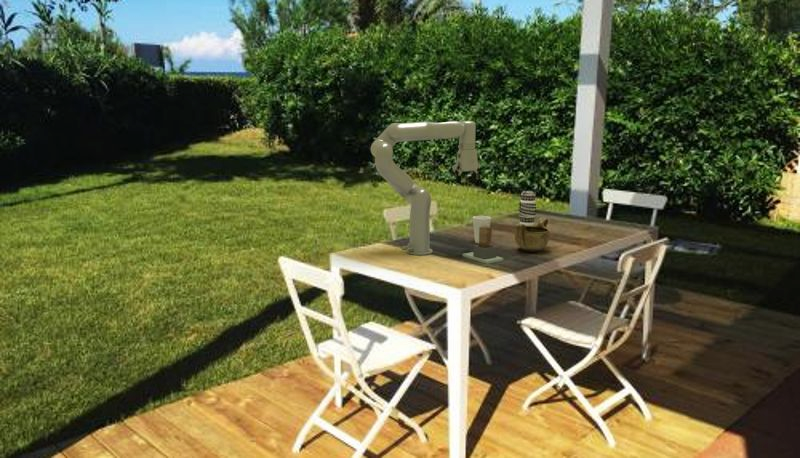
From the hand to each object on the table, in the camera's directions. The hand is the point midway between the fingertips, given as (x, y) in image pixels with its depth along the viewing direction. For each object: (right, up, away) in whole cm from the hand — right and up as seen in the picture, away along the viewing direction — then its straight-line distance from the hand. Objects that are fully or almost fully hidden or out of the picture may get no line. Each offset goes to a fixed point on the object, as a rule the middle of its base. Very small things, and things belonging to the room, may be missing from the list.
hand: (466, 182), depth 322 cm
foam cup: (+10, -29, +23) cm, 39 cm away
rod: (+7, -35, -12) cm, 38 cm away
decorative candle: (+36, -27, +34) cm, 56 cm away
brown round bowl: (+33, -33, +5) cm, 47 cm away
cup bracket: (+7, -36, -11) cm, 38 cm away
